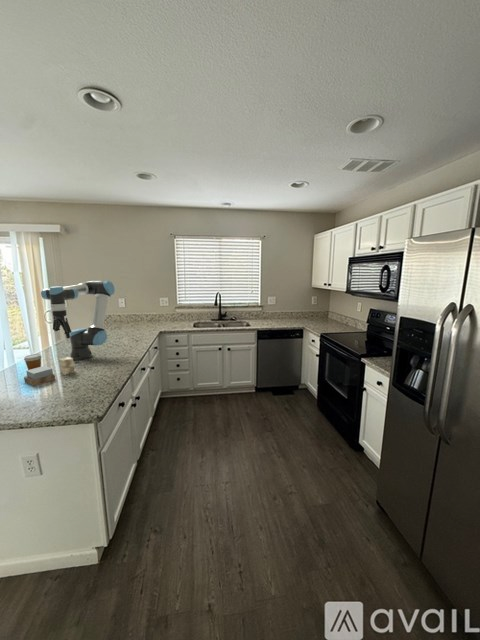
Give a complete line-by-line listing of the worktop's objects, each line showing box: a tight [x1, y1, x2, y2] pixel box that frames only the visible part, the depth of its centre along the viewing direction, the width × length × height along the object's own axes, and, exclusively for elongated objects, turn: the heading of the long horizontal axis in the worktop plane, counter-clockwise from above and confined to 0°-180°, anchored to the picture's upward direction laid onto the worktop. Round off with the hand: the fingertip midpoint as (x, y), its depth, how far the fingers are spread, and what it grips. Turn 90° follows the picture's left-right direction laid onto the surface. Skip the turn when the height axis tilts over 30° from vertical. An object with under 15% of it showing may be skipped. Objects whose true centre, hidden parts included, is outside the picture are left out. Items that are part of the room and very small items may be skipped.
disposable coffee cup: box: [23, 353, 42, 370], centre depth 178 cm, size 10×10×12 cm
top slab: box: [26, 365, 54, 380], centre depth 165 cm, size 10×10×4 cm
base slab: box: [23, 373, 56, 387], centre depth 165 cm, size 12×12×4 cm
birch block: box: [58, 356, 75, 376], centre depth 178 cm, size 6×6×10 cm
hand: (63, 341), depth 174 cm, fingers open, 13 cm apart
